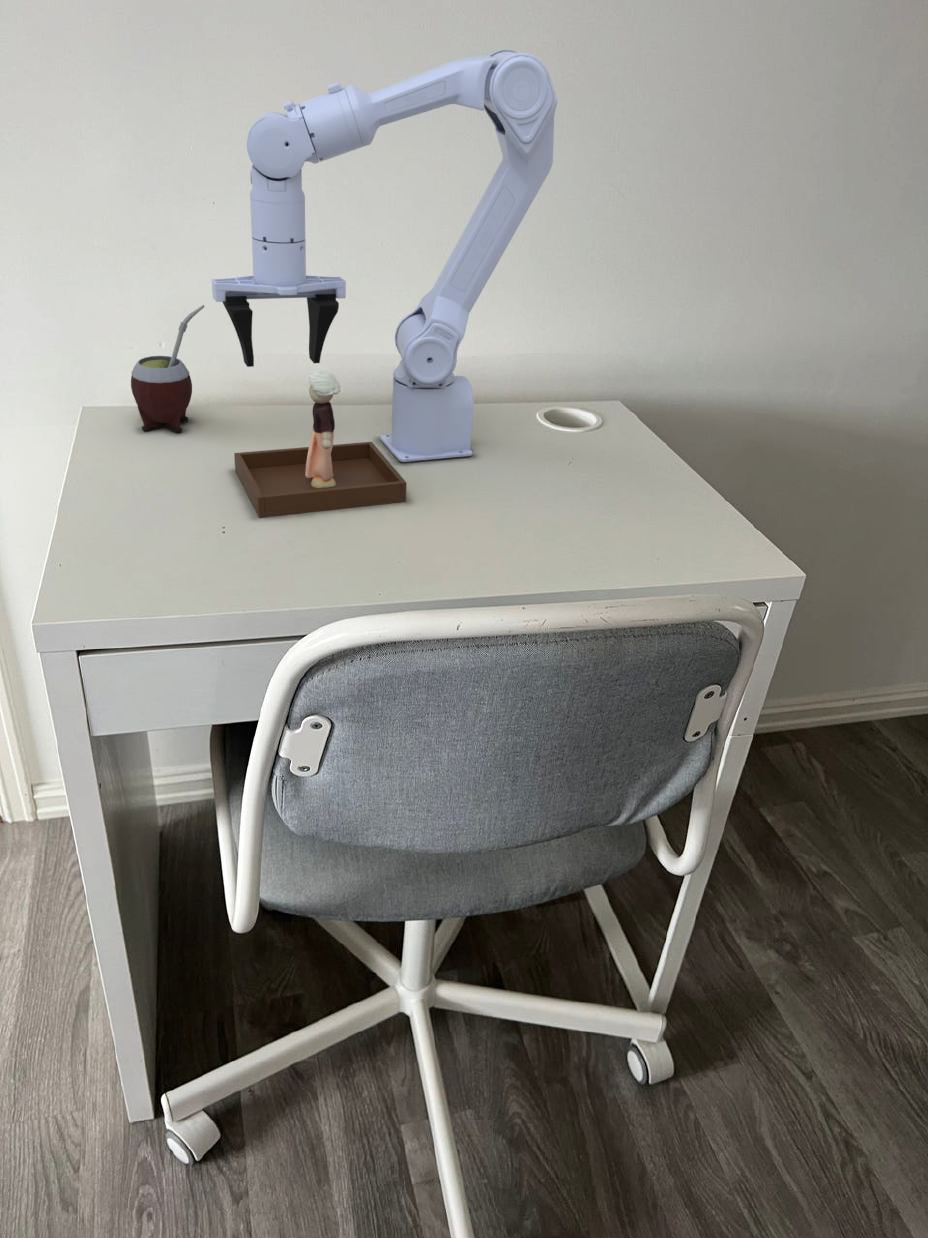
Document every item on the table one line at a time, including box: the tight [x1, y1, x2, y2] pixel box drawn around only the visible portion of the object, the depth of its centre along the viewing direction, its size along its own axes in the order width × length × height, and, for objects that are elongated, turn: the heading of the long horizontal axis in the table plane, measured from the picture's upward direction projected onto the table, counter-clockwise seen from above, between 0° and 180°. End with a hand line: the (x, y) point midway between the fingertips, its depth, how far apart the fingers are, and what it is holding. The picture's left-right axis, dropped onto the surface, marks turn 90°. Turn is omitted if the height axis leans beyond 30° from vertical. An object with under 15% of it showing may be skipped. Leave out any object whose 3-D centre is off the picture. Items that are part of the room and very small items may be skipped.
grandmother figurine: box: [305, 368, 341, 488], centre depth 105 cm, size 8×4×13 cm, turn 21°
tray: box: [233, 441, 407, 518], centre depth 108 cm, size 16×12×2 cm
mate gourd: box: [130, 304, 205, 434], centre depth 117 cm, size 8×8×15 cm
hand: (282, 362), depth 112 cm, fingers open, 7 cm apart
